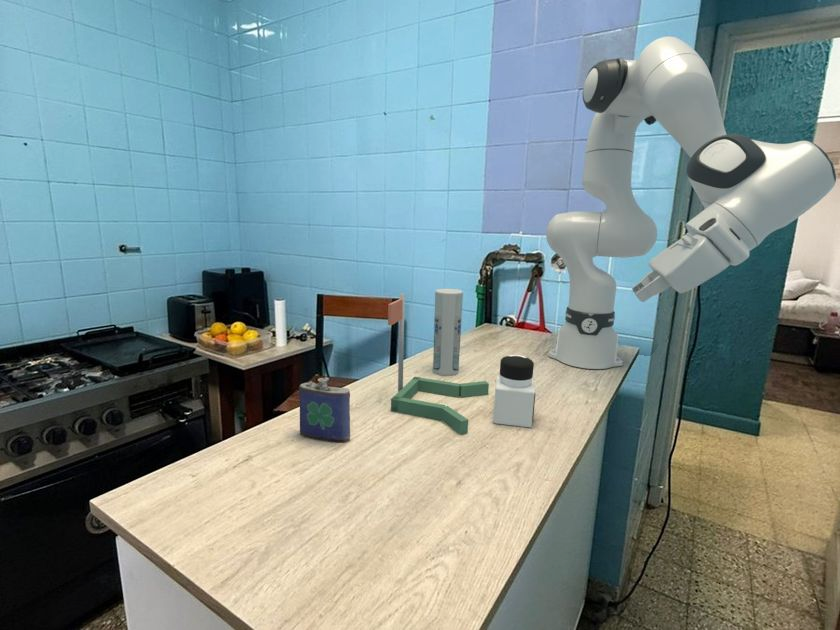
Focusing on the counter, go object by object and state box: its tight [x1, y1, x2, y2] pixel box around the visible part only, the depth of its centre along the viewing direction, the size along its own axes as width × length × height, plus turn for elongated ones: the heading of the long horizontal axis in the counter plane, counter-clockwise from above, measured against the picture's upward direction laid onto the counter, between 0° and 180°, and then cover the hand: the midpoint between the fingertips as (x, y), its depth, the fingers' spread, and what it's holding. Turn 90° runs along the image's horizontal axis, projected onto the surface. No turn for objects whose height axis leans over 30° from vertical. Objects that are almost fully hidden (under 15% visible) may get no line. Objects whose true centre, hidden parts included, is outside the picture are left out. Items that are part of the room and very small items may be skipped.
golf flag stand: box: [387, 292, 490, 435], centre depth 87 cm, size 21×17×22 cm
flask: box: [298, 376, 351, 443], centre depth 74 cm, size 9×3×11 cm, turn 74°
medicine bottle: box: [492, 354, 537, 429], centre depth 83 cm, size 7×7×12 cm
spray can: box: [432, 288, 464, 377], centre depth 106 cm, size 6×6×20 cm
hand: (636, 295), depth 73 cm, fingers open, 4 cm apart
